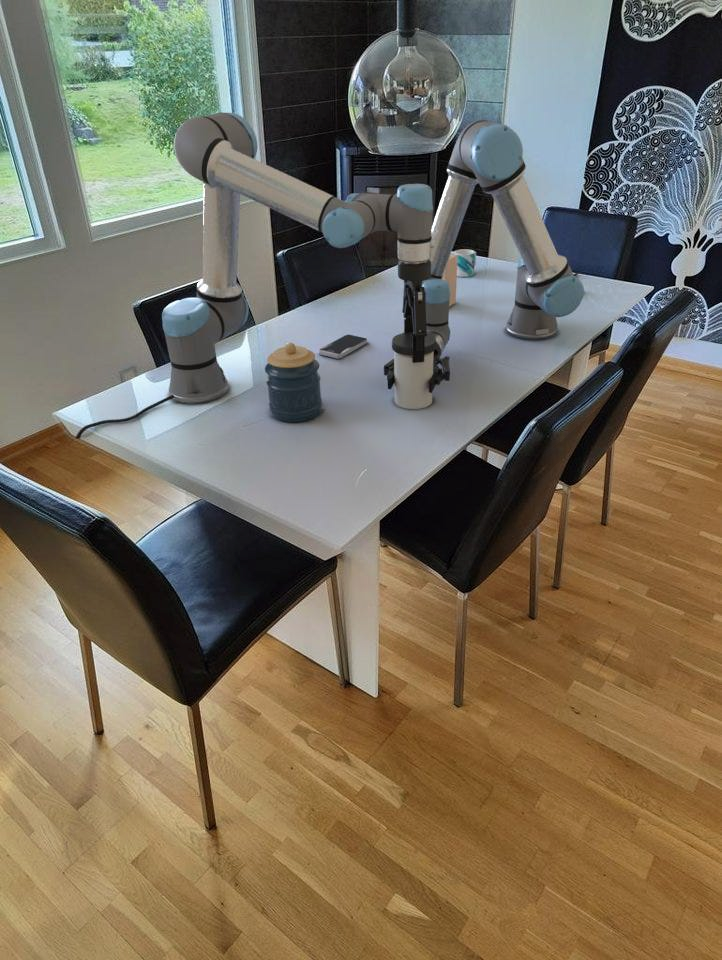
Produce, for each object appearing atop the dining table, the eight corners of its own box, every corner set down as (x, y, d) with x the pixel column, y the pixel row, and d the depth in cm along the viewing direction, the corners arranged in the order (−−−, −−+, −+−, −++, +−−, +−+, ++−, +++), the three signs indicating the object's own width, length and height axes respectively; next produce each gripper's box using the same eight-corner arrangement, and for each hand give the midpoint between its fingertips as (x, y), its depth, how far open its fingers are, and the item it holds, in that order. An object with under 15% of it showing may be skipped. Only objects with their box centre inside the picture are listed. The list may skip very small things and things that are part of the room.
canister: (275, 426, 159) (266, 357, 150) (266, 403, 170) (257, 337, 160) (328, 418, 162) (323, 349, 153) (316, 396, 173) (310, 330, 163)
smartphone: (368, 338, 202) (338, 355, 192) (368, 342, 203) (339, 359, 192) (347, 334, 206) (317, 350, 195) (347, 338, 206) (317, 354, 196)
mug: (449, 275, 259) (450, 253, 254) (462, 267, 267) (463, 245, 262) (469, 277, 255) (470, 255, 250) (481, 269, 263) (483, 247, 259)
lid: (394, 357, 157) (394, 349, 155) (389, 341, 165) (389, 333, 164) (439, 354, 157) (439, 346, 156) (431, 338, 166) (431, 330, 165)
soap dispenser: (444, 310, 225) (446, 242, 213) (422, 306, 229) (423, 239, 217) (461, 299, 234) (464, 233, 222) (439, 295, 238) (440, 231, 226)
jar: (440, 401, 168) (442, 343, 160) (411, 412, 163) (412, 353, 155) (414, 389, 175) (415, 333, 166) (386, 400, 170) (386, 342, 161)
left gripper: (442, 272, 141) (439, 370, 153) (421, 246, 160) (420, 335, 172) (407, 275, 140) (406, 373, 152) (390, 248, 159) (391, 337, 171)
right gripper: (468, 367, 179) (454, 404, 161) (387, 360, 185) (366, 395, 167) (469, 340, 175) (456, 375, 157) (387, 334, 181) (365, 367, 163)
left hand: (413, 353), depth 162 cm, fingers closed on lid, 10 cm apart
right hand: (409, 385), depth 162 cm, fingers closed on jar, 9 cm apart
